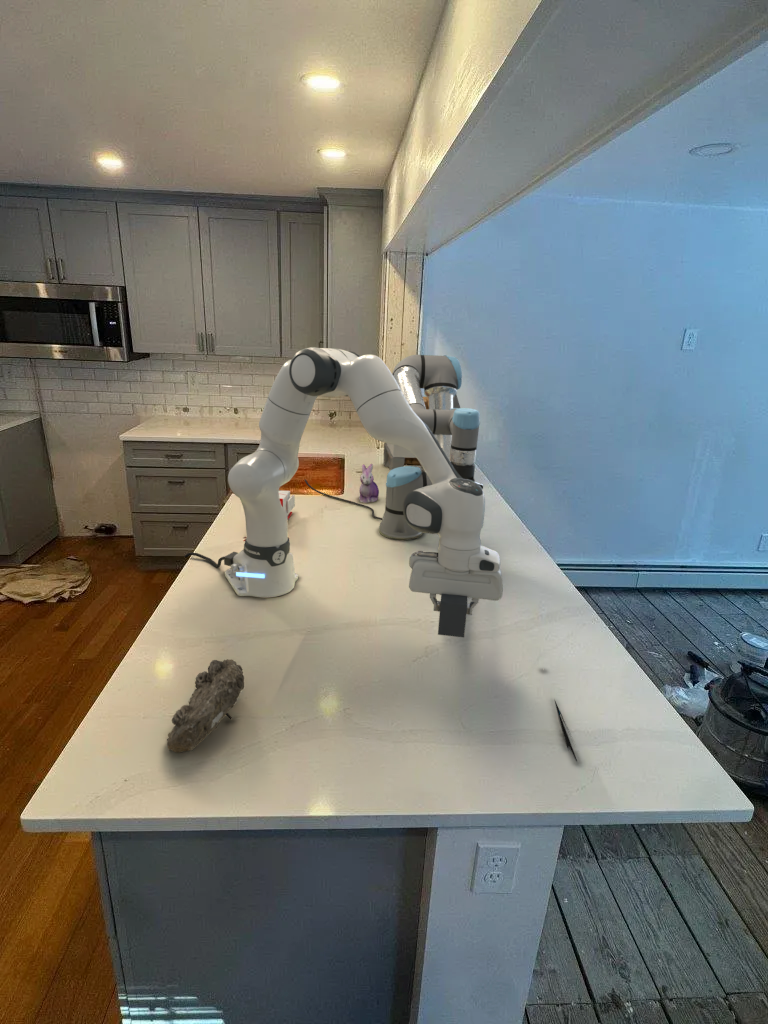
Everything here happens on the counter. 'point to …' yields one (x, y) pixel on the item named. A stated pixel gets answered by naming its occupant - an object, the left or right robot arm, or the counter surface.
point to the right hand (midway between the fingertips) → (455, 535)
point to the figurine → (368, 486)
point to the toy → (287, 501)
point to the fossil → (206, 705)
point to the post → (452, 615)
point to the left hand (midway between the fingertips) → (452, 611)
